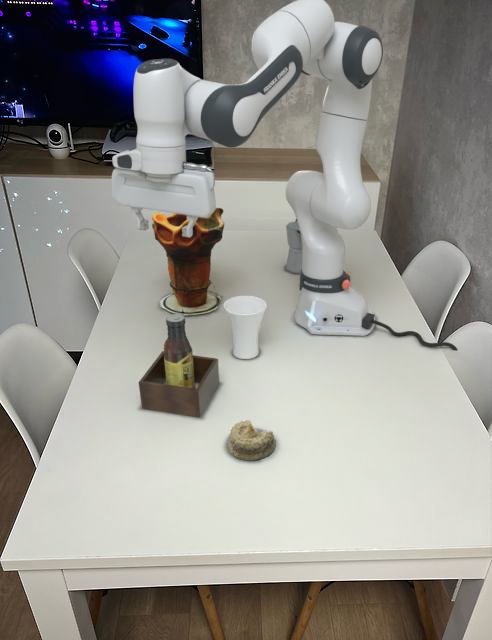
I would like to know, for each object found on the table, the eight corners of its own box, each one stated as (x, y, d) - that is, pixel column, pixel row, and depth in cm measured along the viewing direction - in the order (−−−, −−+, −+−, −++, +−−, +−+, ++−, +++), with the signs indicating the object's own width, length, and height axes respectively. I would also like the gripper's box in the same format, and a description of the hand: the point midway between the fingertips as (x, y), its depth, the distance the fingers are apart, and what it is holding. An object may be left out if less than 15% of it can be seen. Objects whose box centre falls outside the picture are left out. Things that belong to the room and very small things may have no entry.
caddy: (219, 384, 143) (218, 358, 139) (200, 417, 132) (198, 391, 128) (165, 376, 146) (162, 350, 142) (141, 408, 135) (138, 382, 131)
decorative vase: (235, 288, 187) (233, 196, 171) (217, 323, 168) (212, 224, 152) (170, 282, 190) (162, 192, 174) (144, 316, 171) (133, 218, 155)
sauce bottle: (190, 405, 136) (184, 327, 125) (163, 402, 137) (155, 324, 126) (199, 389, 141) (193, 312, 130) (173, 386, 142) (166, 309, 131)
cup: (273, 347, 157) (273, 300, 150) (255, 367, 149) (254, 318, 142) (237, 339, 161) (235, 292, 153) (217, 357, 153) (215, 309, 146)
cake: (259, 469, 119) (257, 449, 116) (217, 452, 124) (214, 432, 121) (285, 439, 126) (284, 419, 123) (245, 424, 130) (243, 404, 127)
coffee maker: (312, 276, 195) (315, 221, 185) (285, 276, 195) (286, 221, 185) (310, 258, 207) (313, 205, 197) (284, 258, 207) (286, 205, 197)
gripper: (221, 162, 112) (220, 235, 120) (121, 150, 117) (126, 221, 124) (207, 169, 107) (208, 245, 115) (104, 156, 112) (111, 230, 119)
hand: (165, 232), depth 120 cm, fingers open, 8 cm apart
